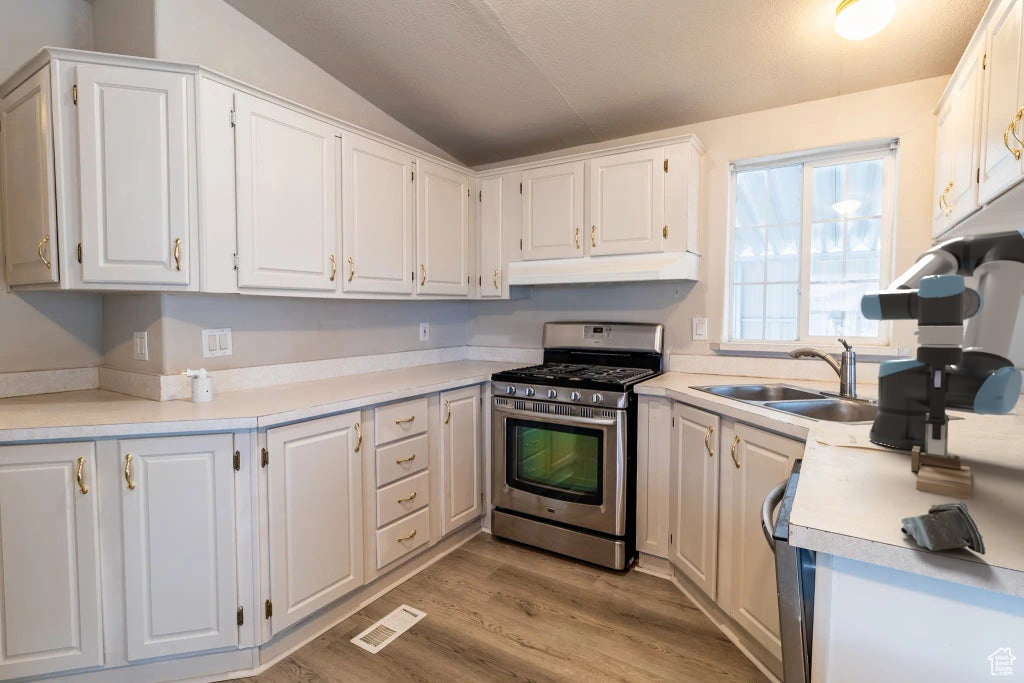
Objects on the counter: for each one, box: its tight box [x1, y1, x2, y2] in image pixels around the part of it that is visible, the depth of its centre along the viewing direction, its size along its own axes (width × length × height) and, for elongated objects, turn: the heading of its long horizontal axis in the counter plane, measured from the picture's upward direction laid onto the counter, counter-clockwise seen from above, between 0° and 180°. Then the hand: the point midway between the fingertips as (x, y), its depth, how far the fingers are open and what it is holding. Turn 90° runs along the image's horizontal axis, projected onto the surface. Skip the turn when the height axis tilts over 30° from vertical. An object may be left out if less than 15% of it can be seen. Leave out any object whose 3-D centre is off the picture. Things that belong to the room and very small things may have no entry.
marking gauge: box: [910, 413, 962, 472], centre depth 106 cm, size 6×8×12 cm
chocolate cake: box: [900, 501, 986, 556], centre depth 73 cm, size 10×7×12 cm
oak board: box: [915, 463, 973, 500], centre depth 101 cm, size 20×8×2 cm, turn 137°
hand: (936, 451), depth 106 cm, fingers open, 4 cm apart
